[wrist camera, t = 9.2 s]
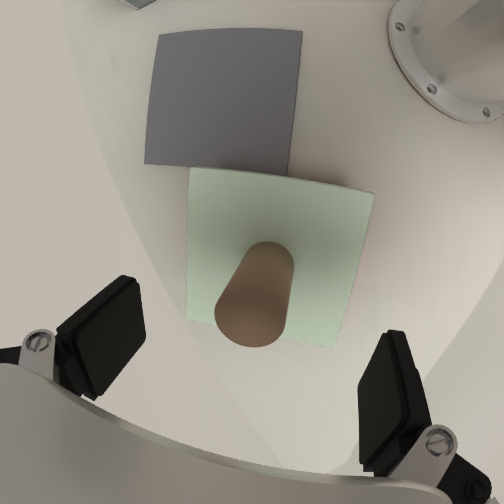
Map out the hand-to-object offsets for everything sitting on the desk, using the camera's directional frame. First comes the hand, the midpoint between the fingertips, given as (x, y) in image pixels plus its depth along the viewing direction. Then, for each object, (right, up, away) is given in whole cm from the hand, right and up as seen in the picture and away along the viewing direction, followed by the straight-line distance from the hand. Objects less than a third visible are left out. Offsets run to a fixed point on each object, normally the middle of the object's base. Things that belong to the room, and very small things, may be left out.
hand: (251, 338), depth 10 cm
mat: (-3, +15, +10) cm, 18 cm away
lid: (+1, +3, +9) cm, 9 cm away
